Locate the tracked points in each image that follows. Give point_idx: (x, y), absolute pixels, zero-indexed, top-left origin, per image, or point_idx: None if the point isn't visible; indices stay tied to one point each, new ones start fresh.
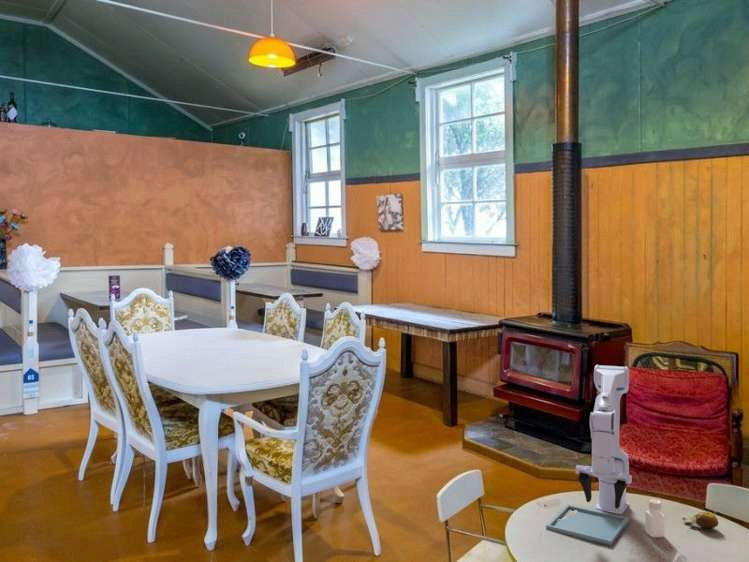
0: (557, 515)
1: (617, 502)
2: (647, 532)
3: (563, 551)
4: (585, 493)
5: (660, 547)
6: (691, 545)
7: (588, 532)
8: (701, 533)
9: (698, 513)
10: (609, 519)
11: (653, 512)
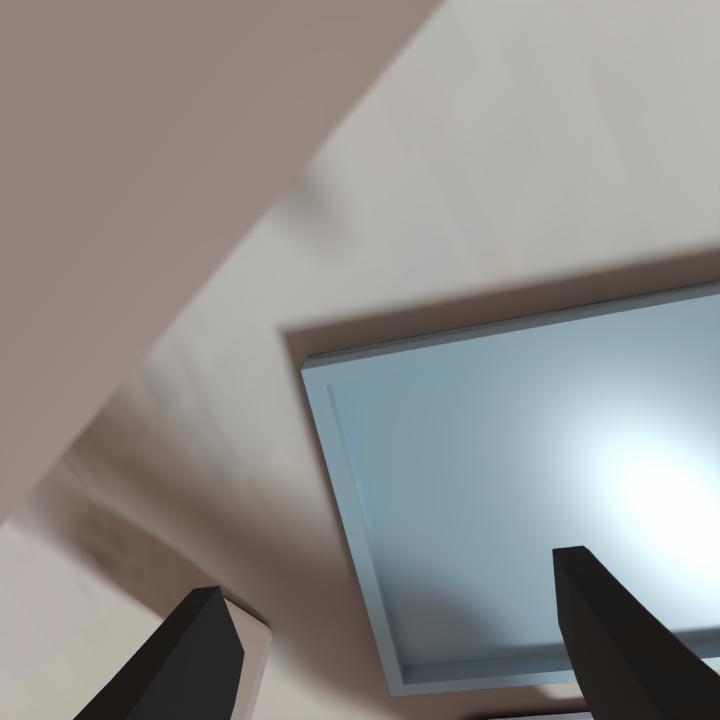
0: None
1: (137, 653)
2: (247, 621)
3: (527, 19)
4: (661, 639)
5: (127, 527)
6: (57, 628)
7: (502, 421)
8: None
9: None
10: (479, 642)
11: None
